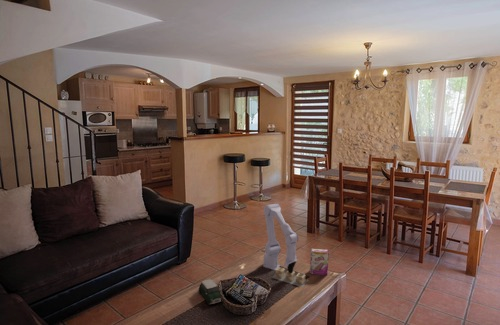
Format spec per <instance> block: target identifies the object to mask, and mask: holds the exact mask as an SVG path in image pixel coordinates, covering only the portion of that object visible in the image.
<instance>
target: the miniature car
mask: <svg viewBox="0 0 500 325" xmlns="http://www.w3.org/2000/svg"><path fill="white" fill-rule="evenodd" d="M219 289H220V288H219V286H218V284H217V283H216V282H215V280H213V279H211V278H209V279H205V280H202V281H201V283H200V284H199V285H198V294H199V295H201V296H202V297H203V299H204V300H205V301H206V304H207V305H208V306H210V305H212V304H213V305H214V304H217V303H220V302H222V301H221V298H220V294H219V291H220V290H219Z"/></svg>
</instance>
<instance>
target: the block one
mask: <svg viewBox="0 0 500 325" xmlns="http://www.w3.org/2000/svg"><path fill="white" fill-rule="evenodd" d="M285 273H286V269H285V268H284V267H280V266H279V267H278V268H277V269H276V270H275V274H276V277H279V278H283V277H284V275H285Z"/></svg>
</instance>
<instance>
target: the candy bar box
mask: <svg viewBox="0 0 500 325" xmlns="http://www.w3.org/2000/svg"><path fill="white" fill-rule="evenodd" d="M329 254H330V253H329V249H321V248H311V249H310V261H309V274H310V275H319V276H328V270H329V269H328V266H329Z"/></svg>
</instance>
